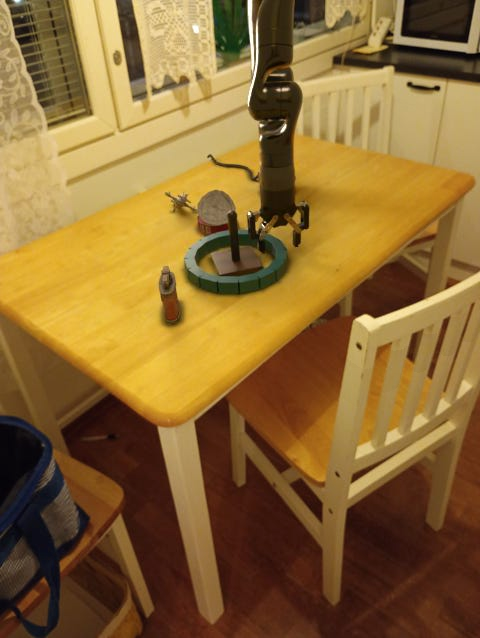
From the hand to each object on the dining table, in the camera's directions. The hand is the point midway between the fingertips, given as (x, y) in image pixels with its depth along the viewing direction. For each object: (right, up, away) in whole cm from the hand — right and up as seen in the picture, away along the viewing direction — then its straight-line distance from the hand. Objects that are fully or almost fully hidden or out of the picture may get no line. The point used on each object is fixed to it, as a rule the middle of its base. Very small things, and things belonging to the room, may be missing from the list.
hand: (279, 249), depth 122 cm
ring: (-10, -4, 0) cm, 11 cm away
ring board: (-10, -4, 0) cm, 11 cm away
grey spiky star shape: (-26, +14, +24) cm, 38 cm away
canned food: (-15, +8, +15) cm, 23 cm away
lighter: (-23, -15, -13) cm, 30 cm away
